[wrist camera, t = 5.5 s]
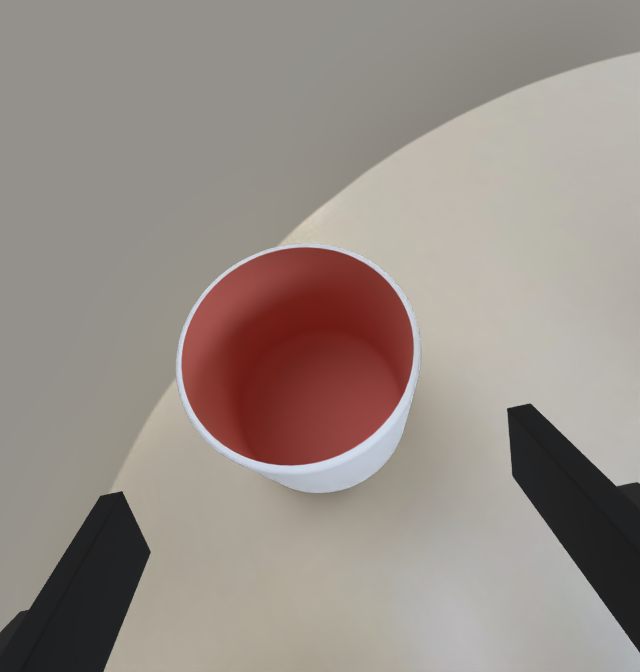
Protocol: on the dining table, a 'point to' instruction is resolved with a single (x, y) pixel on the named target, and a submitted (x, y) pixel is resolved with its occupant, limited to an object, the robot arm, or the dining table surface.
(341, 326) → the cup
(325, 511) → the dining table surface
